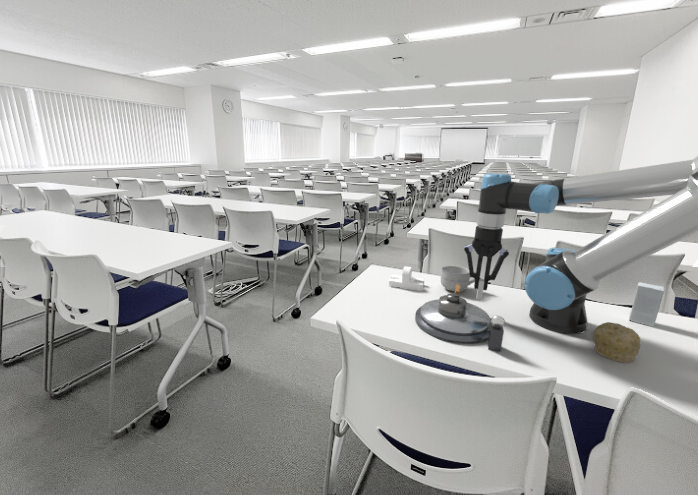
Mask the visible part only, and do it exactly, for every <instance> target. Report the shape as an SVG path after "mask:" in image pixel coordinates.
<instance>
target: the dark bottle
mask: <svg viewBox="0 0 698 495" xmlns="http://www.w3.org/2000/svg"><path fill="white" fill-rule="evenodd" d="M491 323H492V324H491V325H490V332H489V339H488V340H487V350H490V351H493V352H494V351H495V352H498V353H499V352H501V350H502V346H503V338H504V335H505V334H504V333H505V332H504V331H505V330H504V326H505V324H506V321H505V319H504V317H503V316H501V315H495V316H493V317H492V318H491Z"/></svg>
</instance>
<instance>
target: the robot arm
mask: <svg viewBox="0 0 698 495" xmlns="http://www.w3.org/2000/svg"><path fill="white" fill-rule="evenodd" d="M481 181H482V182H481V186H480V194H479V203H478V210H477V218H476V226H475V232H474V239H473V240H472V242H471V244H468V245H464V247H463V248H464V250H463V251H464V253H465V254H466V256H467V257H466V258H467V264H468V269H469V274H470V278H473V280H474V279H475V282H474V283H473V285H474V286H473V289H475V290H477V291H476V300H477V301H483V293H484V291H487V290H488V286H489V282H490V281H495V280H496V278H497V276H498V274H499V272H500V269H501V267H502V265H503V263H504V261H505V259H507V257H508V256H509V255H510V252H509V250H508V249H505V248H504V247H503V245H502V239H503V231H504V229H503V227H504V224H505V220H506V218H505V217H506V213H507V212H506V211H507V210H516V211H524V212H530V213H535V214H545V215H547V214H551V213H553V212H554V210H555V209H556V207H559V206H560V207H561V206H568V205H578V204H589V203H600V202H610V201H620V200H621V201H622V200H623V201H624V200H632V199H633V200H634V199H643V198H644V199H645V198H653V197H662V196H663V197H664V196H669V197H667V198H666V199H663V200H662V201H660V202H658V203H656V204H655V205H653V206H652V207H650V208H649V209H646V210H645V211H643V212H641V213H639V214H638V215H635V216H634V217H632V218H631V219H629V220H627V221H625V222H624V223H622V224H620V225H619V226H617V227H615V228H614V229H612V230H610V231H608V232H607V233H605V234H603V235H601V236H600V237H598V238H596V239H594V240H593V241H591V242H589V243H587V244H586V245H583V247H581V248H579V249H578V250H577V249H572V248H571V249H570V248H564V247H551V248H548V250H547V253H546V260H545V261H544V262H542V263H541V264H539V265H538V266H536V267H534V268H531V270H530V271H529V272H528V274H527V276H525V277H526V278H525V280H524V289H525V290H524V291H525V293H526V295H527V297H528V298H529V299H530V300H531V301H532V303H533V304H532V306H531V307H530V310H529V314H528V315H529V316H528V317H529V318H530V320H531V321H532V322H534V323H535V324H537V325H538V326H540V327H543V328H545V329H548V330H549V331H553V332H556V333H557V332H558V333H562V334H569V335H570V334H571V335H572V334H573V335H575V334H581V333H583V332H585V331H587V327H588V317H587V312H586V304H585V303H586V297H587V295H588V294H590V293H591V292H594V291H596V290H598V288H599V285H600V281H601V280H603V279H606V278H607V277H609V276H611V275H613V274H615V273H617V272H620V271H621V270H623V269H626V268H627V267H629V266H631V265H634V264H635V263H638V262H640V261H642V260H644V259H647V258H648V257H650V256H652V255H654V254H656V253H658V252H660V251H662V250H664V249H666V248H668V247H670V246H673V245H674V244H677V243H679V242H680V241H683V240H684V239H686V238H689V237H691V236H693V235H695V234H697V233H698V155H697V156H696V157H695V158H693V159H687V160H682V161H681V160H679V161H676V162H675V161H674V162H668V163H660V164H654V165H648V166H642V167H641V166H640V167H634V168H627V169H619V170H614V171H605V172H601V173H594V174H593V173H592V174H587V175H579V176H573V177H565V178H561V179H559V178H558V179H554V180H550V179H549V180H544V181H541V182H539V181H538V182H534V183H531V182H530V183H529V182H516V181H512V175H511V174H510V173H509V174H507V173H498V172H497V173H486V174H485V175H483V177H482V180H481ZM473 249H474V251H475V253H476V254H477V255H478V256H477V264H476V270H475V269H474V263H473V256H472V252H473ZM497 253H499V257H498V258H497V261H496V263H495V265H494V267H493V270H492V271H491V267H492V266H491V265H492V260H493V257H495V255H496V254H497ZM484 257H486V263H485V269H484V275H483V276H484V277H481V272H482V264H483V259H484ZM474 271H476V273H474Z"/></svg>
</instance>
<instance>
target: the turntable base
mask: <svg viewBox="0 0 698 495" xmlns="http://www.w3.org/2000/svg"><path fill="white" fill-rule="evenodd" d="M421 307H422V305H421V306H419V307H418V308H417V310H416V311H415V316H414V319H415V320H414V321H415V323H416V325H417V327H419V329H420V330H422V331H423V332H424V333H426V334H428V335H430V336H431V337H433V338H437V339H439V340H441V341H445V342H448V343H455V344H461V345H463V344H467V345H468V344H470V345H471V344H473V345H474V344H478V343H479V344H480V343H483V342H486V341H488V339H489V332H490V325H491V324H492V323H491V319H492V318H491V317H490V324H489V328H488V330H487V331H485V332H484V333H481V334H478V335H472V336H459V335H452V334H447V333H444V332H441V331H438V330H436V329H433V328H432V327H430V326H428V325H427V324H426V323H425V322H424V321H423V320H422V319H421V315H420V313H421Z"/></svg>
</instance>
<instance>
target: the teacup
mask: <svg viewBox="0 0 698 495" xmlns="http://www.w3.org/2000/svg"><path fill="white" fill-rule="evenodd" d="M474 273H476V270H474ZM470 278H471V277H470V274H469V268H467V267H464V266H459V265H444V266H442V267H441V268H440V283H441V286H442V287H444V288H445V290H447V291H451V292H455V289H456V284H459V285H460V289H459V292H462V291H464V290H465V289H467V288H468V287H469V286H470V285H471V284H475V279H474V278H473V279H472V280H470Z"/></svg>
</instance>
